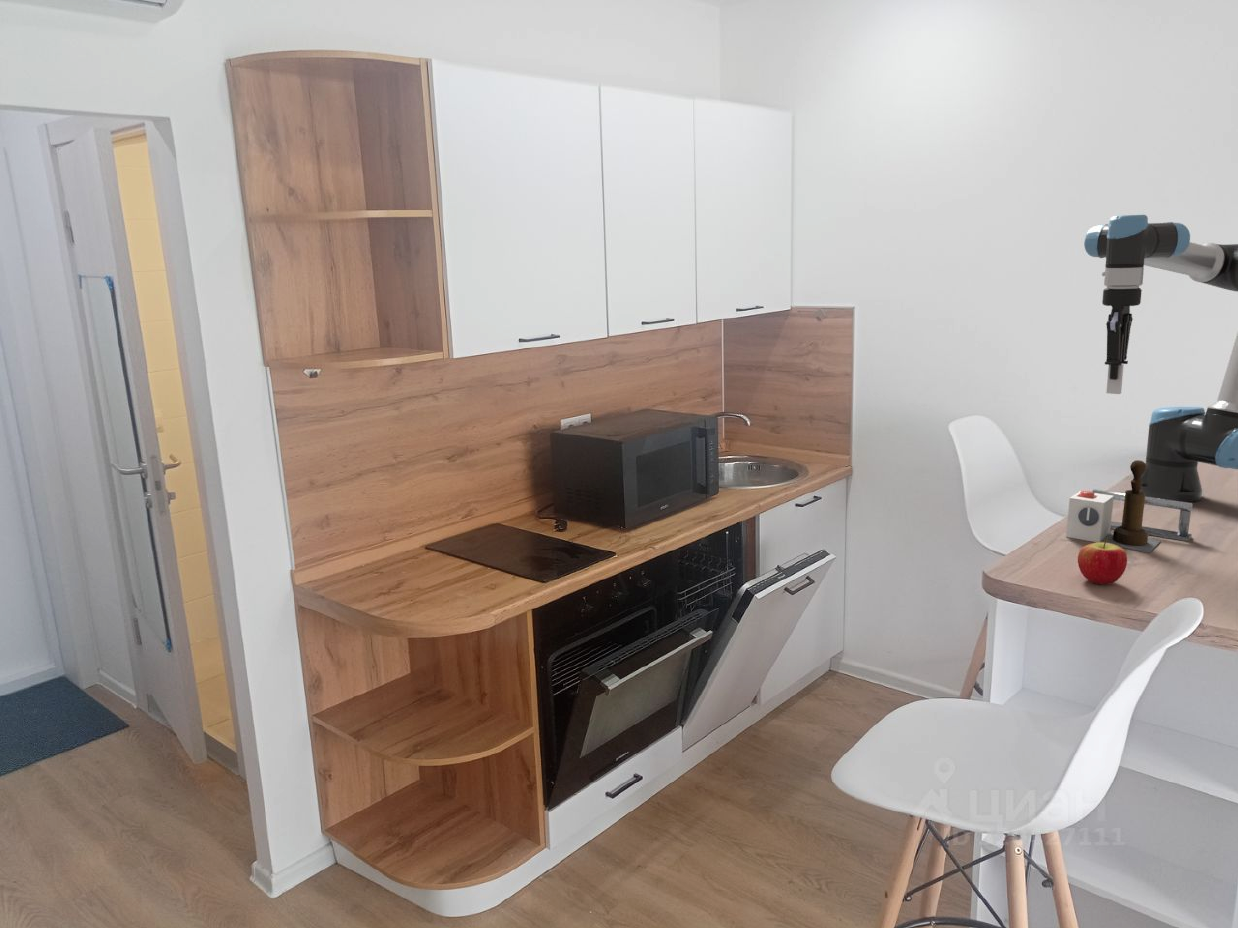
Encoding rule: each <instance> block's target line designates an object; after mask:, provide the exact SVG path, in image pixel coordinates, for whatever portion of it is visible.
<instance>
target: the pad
mask: <svg viewBox="0 0 1238 928" xmlns="http://www.w3.org/2000/svg"><path fill="white" fill-rule="evenodd" d="M1113 534H1114V532H1113V531H1110V534H1108V535H1107V536H1106V537H1105V538H1103V539H1102V540H1101V541H1100V542H1104V543H1105V541H1106V539H1107V537H1108V536H1109V535H1110V537H1109V538H1108V540H1107V541H1106V543H1110V544H1114V545H1117V546H1119V547H1121V548H1122V549H1124V550H1130V551H1131V550H1132V551H1137V552H1141V553H1142V552H1143V553H1148V554H1150V553H1151V552H1152V551H1153V550H1154V549H1155V548H1156V547H1157V546H1158V545H1159V544H1160V543H1161V541H1162V540H1158V539H1152V538H1148V541H1147V544H1146V545H1138V546H1137V545H1127V544H1122V543H1118V542H1116V541H1114V540H1113Z"/></svg>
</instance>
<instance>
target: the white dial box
mask: <svg viewBox="0 0 1238 928" xmlns="http://www.w3.org/2000/svg"><path fill="white" fill-rule="evenodd" d="M1081 491H1082V490H1079V491H1077V493H1074V494H1073V495H1072V496H1070V497H1069V500H1068V501H1069V502H1068V512H1067V513H1068V514H1067V521H1066V522H1067V523H1066V531H1065V533H1066V534H1065V537H1066V538H1069V539H1071V538H1072V539H1077V540H1081V541H1082V540H1083V541H1087V542H1091V543H1092V542H1093V543H1096V542H1100V541H1101V540H1102V539H1103V538H1105V537H1106V536H1107V535H1108V534H1110V533H1111V529H1110V527H1111V521H1112V518H1113V517H1112V516H1113V508H1114V507H1113V506H1114V501H1115V500H1114V496H1112V495H1105V494H1099V493H1094V499H1091V498H1084V497H1080V492H1081Z"/></svg>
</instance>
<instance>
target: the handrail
mask: <svg viewBox="0 0 1238 928" xmlns="http://www.w3.org/2000/svg"><path fill="white" fill-rule="evenodd" d="M1091 492H1094V493H1099V494H1105V495H1112V496H1114V500H1113V501H1120V502H1124V500H1125V493H1123V492H1118V491H1110V490H1103V489H1096V488H1093V489H1092V491H1091ZM1145 505H1147V506H1154V507H1158V508H1159V507H1160V508H1167V509H1172V510H1179V511H1180V512H1179V520H1178V526H1177V527H1178V528H1177V531H1173V530H1169V529H1160V528H1156V527H1150V526H1143V525H1142V528H1143V529H1144V530H1145V531H1146V532H1147V533H1148V536H1153V537H1160V538H1164V539H1166V538H1167V539H1171V540H1177V541H1183V542H1189V541H1190V540H1191V539H1192V537H1193V534H1192V533H1189V529H1190V522H1191V514H1192V509H1193V502H1181V501H1174V500H1167V499H1160V498H1153V497H1146V496H1145V503H1144V506H1145ZM1119 526H1122V522H1119V521H1113V520H1111V527H1110V530H1114V529H1116V528H1117V527H1119Z"/></svg>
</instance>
